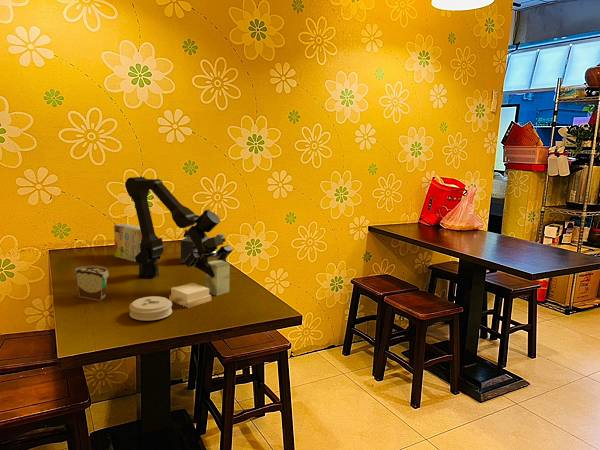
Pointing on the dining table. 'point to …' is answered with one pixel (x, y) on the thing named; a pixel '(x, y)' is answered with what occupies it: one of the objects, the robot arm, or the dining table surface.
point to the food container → (92, 282)
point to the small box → (186, 249)
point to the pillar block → (218, 277)
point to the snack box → (127, 241)
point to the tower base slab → (190, 303)
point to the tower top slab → (190, 291)
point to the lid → (150, 308)
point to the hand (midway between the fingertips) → (220, 275)
